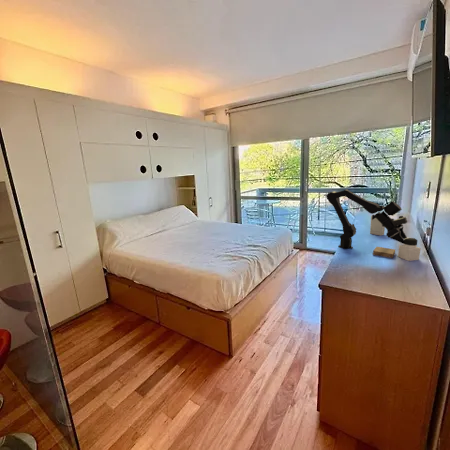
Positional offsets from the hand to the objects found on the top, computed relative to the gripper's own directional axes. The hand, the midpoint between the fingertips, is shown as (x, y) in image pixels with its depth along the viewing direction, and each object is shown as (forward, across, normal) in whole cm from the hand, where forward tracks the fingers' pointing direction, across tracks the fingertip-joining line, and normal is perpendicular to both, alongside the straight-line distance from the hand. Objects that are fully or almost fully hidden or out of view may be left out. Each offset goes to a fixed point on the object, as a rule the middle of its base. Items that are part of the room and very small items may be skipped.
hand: (406, 241), depth 141 cm
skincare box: (-9, +46, +23) cm, 53 cm away
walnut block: (0, 0, +14) cm, 14 cm away
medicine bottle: (+9, 0, +6) cm, 10 cm away
